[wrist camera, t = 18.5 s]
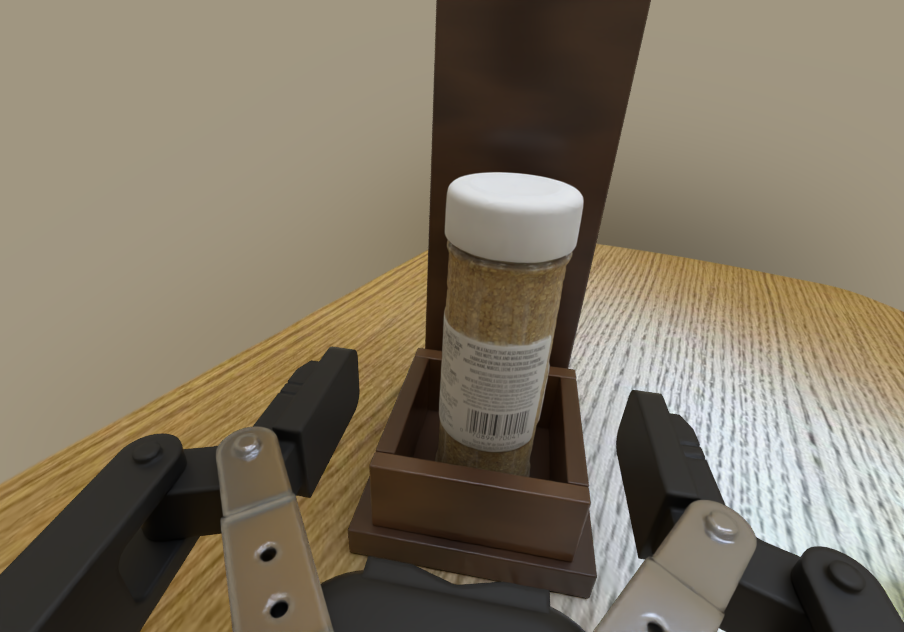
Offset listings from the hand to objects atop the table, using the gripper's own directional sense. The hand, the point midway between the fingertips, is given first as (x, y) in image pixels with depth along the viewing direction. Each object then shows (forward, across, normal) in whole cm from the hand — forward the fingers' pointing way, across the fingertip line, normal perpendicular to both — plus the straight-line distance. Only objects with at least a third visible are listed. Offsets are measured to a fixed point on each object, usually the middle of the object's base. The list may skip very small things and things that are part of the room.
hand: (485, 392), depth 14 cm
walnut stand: (+6, 0, +10) cm, 12 cm away
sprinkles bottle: (+5, 0, +9) cm, 10 cm away
